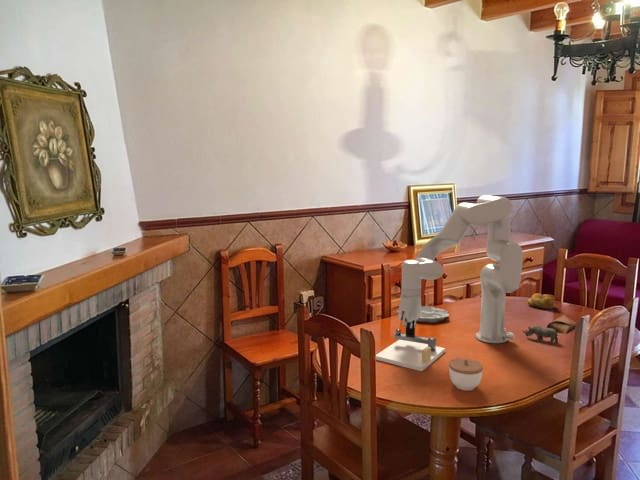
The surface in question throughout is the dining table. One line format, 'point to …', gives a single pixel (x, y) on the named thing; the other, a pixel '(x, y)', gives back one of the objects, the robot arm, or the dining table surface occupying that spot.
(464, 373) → the lidded jar
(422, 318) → the brain slice
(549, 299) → the bread roll
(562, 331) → the sunglasses case
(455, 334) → the dining table surface
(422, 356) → the door board
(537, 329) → the rhino figurine
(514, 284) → the robot arm
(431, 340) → the bar
